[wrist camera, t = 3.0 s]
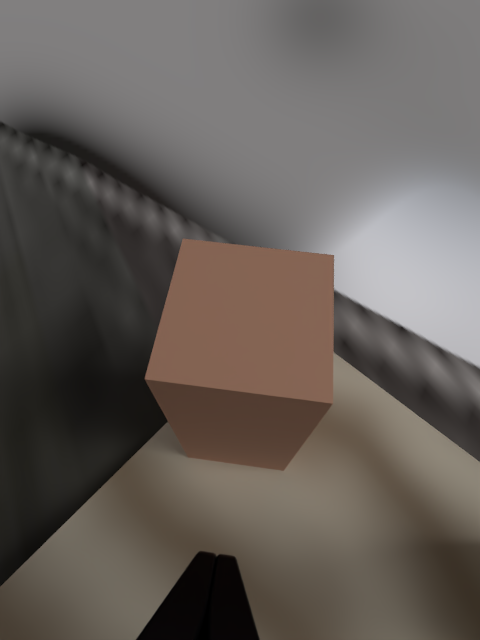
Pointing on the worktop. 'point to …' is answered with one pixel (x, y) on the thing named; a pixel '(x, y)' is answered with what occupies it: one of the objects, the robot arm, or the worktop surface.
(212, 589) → the robot arm
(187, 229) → the worktop surface
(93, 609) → the maple board
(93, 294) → the worktop surface
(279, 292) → the terracotta block
